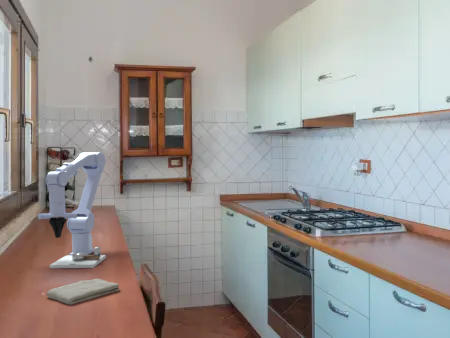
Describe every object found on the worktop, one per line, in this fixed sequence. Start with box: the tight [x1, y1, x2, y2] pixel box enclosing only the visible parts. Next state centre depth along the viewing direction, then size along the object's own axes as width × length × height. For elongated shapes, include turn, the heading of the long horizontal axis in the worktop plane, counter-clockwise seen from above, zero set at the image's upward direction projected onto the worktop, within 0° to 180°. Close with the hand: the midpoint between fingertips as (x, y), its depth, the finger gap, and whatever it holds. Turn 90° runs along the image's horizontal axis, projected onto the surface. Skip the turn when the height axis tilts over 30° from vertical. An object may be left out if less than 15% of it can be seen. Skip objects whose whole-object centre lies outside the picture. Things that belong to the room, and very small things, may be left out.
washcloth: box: [46, 278, 120, 306], centre depth 136 cm, size 12×18×3 cm, turn 142°
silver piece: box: [72, 246, 102, 260], centre depth 175 cm, size 11×5×4 cm, turn 91°
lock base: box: [49, 254, 107, 269], centre depth 175 cm, size 16×16×1 cm
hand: (58, 237), depth 178 cm, fingers closed
